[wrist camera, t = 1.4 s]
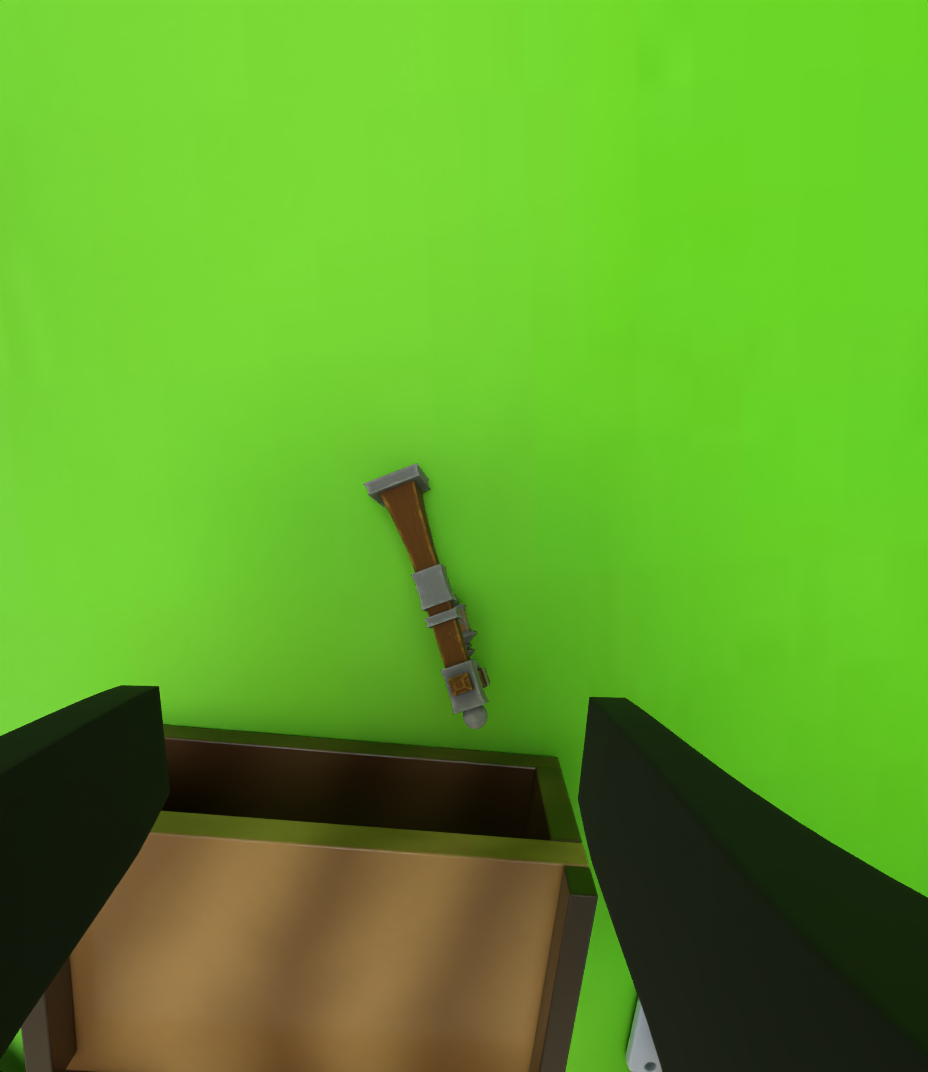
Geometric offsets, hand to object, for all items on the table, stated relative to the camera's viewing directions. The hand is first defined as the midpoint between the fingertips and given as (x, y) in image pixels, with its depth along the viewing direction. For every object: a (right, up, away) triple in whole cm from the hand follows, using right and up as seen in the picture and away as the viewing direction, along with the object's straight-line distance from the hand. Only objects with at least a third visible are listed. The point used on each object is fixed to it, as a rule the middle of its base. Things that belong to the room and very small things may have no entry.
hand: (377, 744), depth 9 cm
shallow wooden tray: (-3, -9, +12) cm, 16 cm away
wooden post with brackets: (+1, +2, +10) cm, 10 cm away
